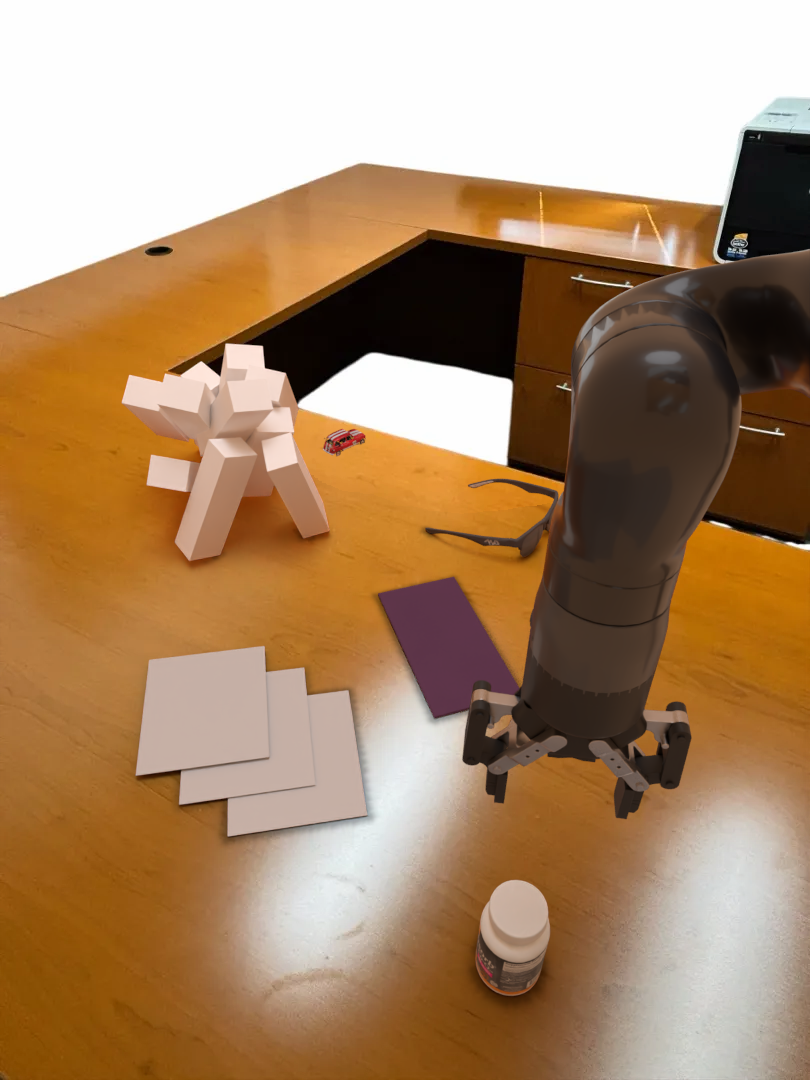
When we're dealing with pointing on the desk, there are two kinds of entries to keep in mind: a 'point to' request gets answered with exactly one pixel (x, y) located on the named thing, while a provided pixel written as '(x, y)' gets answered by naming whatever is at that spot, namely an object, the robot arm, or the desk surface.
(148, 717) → the paper stack
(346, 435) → the toy car
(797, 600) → the desk surface
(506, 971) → the pill bottle
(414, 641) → the cloth
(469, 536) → the sunglasses
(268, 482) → the pile of blocks
